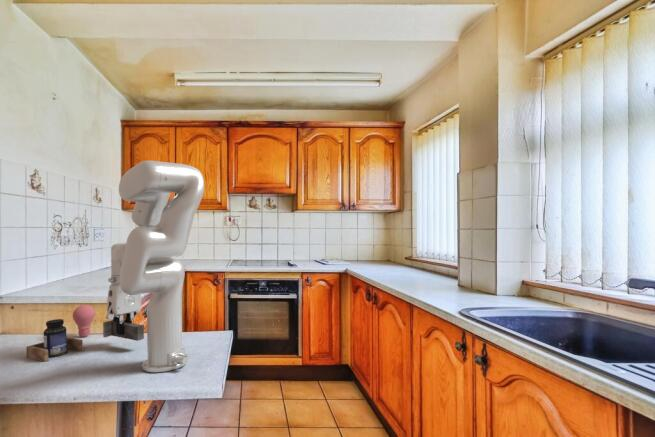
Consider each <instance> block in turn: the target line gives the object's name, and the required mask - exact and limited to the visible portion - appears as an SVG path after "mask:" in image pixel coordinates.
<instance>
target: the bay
mask: <svg viewBox="0 0 655 437" xmlns="http://www.w3.org/2000/svg"><path fill="white" fill-rule="evenodd" d="M66 337H67V350H72V351H76V352H83V351H84V350H83V346H84V341H83V339H80V338H74V337H69V336H66ZM26 359H32V360H34V361H35V360H36V361H38V362H44V363H46V362H49V357H48V349H44V341H42V342H39V343H35V344H32V345H28V346H26Z"/></svg>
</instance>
